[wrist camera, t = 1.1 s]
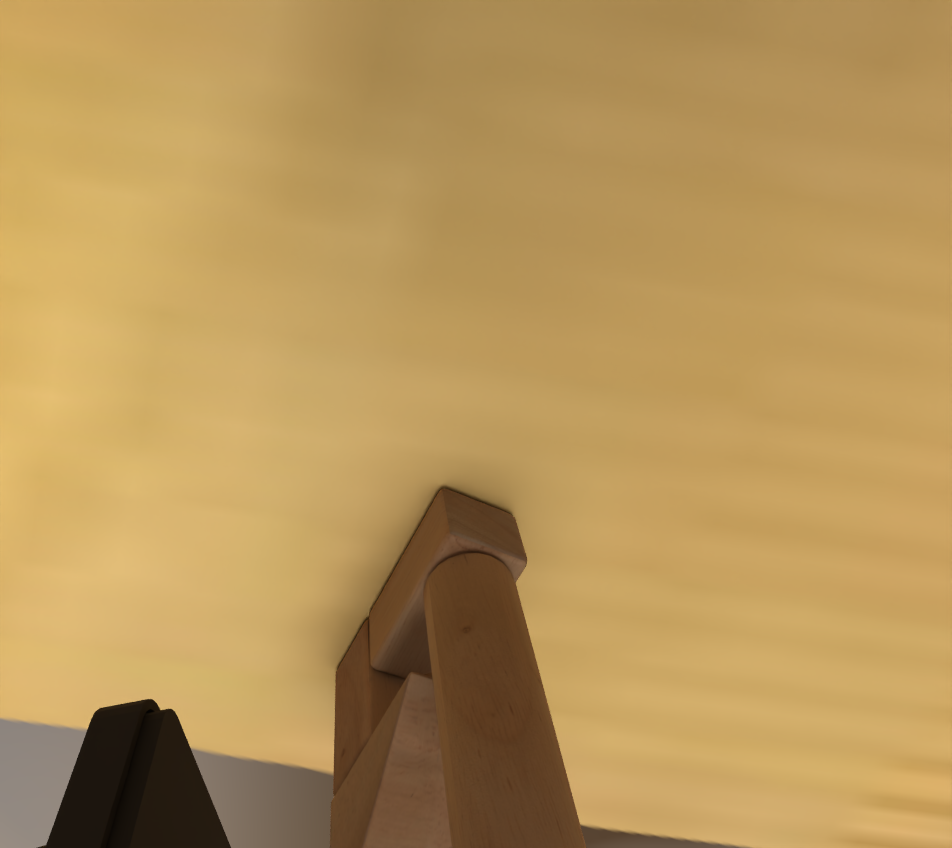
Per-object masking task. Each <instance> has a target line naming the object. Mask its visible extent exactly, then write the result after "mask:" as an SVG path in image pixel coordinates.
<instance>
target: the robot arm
mask: <svg viewBox="0 0 952 848" xmlns="http://www.w3.org/2000/svg"><path fill="white" fill-rule="evenodd" d="M38 848H231V847H230V844H229V842H228V840H227V837H226V834H225V832H224V830H223V827H222V824H221V822H220V819H219V817H218V815H217V812H216V810H215V807H214V805H213V803H212V800H211V797H210V795H209V793H208V790H207V788H206V785H205V783H204V781H203V778H202V775H201V773H200V770H199V768H198V766H197V763H196V761H195V758H194V756H193V753H192V751H191V748H190V746H189V744H188V741H187V739H186V736H185V734H184V731H183V729H182V726H181V724H180V721H179V719H178V717H177V715H176V713H175V711H173V710H172V709H166V710H160V708H159V707H158V705H157V703H156V702H155V701H154V700H152V699H146V700H141V701H136V702H130V703H125V704H120V705H114V706H109V707H104V708H99V709H98V710H97V711H96V712H95V713H94V715H93V717H92V719H91V722H90V724H89V727H88V730H87V733H86V736H85V738H84V741H83V744H82V747H81V750H80V753H79V755H78V758H77V761H76V764H75V766H74V769H73V772H72V775H71V778H70V780H69V783H68V786H67V789H66V791H65V794H64V797H63V800H62V803H61V805H60V808H59V811H58V814H57V817H56V819H55V822H54V825H53V828H52V831H51V833H50V836H49V839H48V842H47V845H45V846H41V847H38Z"/></svg>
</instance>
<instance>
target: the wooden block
mask: <svg viewBox="0 0 952 848" xmlns="http://www.w3.org/2000/svg"><path fill="white" fill-rule="evenodd" d="M526 564H527V557H526V553H525V550H524V547H523V543H522V540H521V537H520V533H519V530H518V527H517V523H516V520H515V518H514V517H513V516H512V515H511V514H509V513H507V512H504V511H502V510H499V509H497V508H494V507H492V506H489V505H486V504H484V503H481V502H479V501H476V500H474V499H471V498H469V497H466V496H463V495H461V494H458V493H456V492H453V491H451V490H448V489H441V490H440V491H439V492H438V494H437V496H436V498H435V499H434V501H433V503H432V505H431V506H430V508H429V510H428V512H427V513H426V515H425V517H424V519H423V520H422V522H421V524H420V526H419V527H418V529H417V531H416V533H415V534H414V536H413V538H412V540H411V541H410V543H409V545H408V547H407V548H406V550H405V552H404V554H403V556H402V557H401V559H400V561H399V563H398V564H397V566H396V568H395V570H394V571H393V573H392V575H391V577H390V578H389V580H388V582H387V584H386V585H385V587H384V589H383V591H382V592H381V594H380V596H379V598H378V599H377V601H376V603H375V605H374V607H373V608H372V610H371V612H370V615H369V619H368V620H366V621H365V622H364V624H363V626H362V627H361V629H360V631H359V633H358V634H357V636H356V638H355V640H354V641H353V643H352V645H351V647H350V648H349V650H348V652H347V654H346V655H345V657H344V659H343V661H342V662H341V664H340V666H339V668H338V669H337V671H336V691H335V739H334V789H333V790H334V791H333V794H334V796H335V797H334V798H333V800H332V802H331V829H330V848H586V845H585V842H584V838H583V834H582V830H581V827H580V823H579V819H578V815H577V812H576V808H575V804H574V800H573V797H572V793H571V789H570V785H569V782H568V778H567V774H566V770H565V767H564V763H563V759H562V755H561V752H560V748H559V744H558V741H557V737H556V733H555V729H554V726H553V722H552V718H551V714H550V711H549V707H548V703H547V699H546V696H545V692H544V688H543V684H542V681H541V677H540V673H539V669H538V666H537V662H536V658H535V654H534V651H533V647H532V643H531V640H530V636H529V632H528V628H527V625H526V621H525V617H524V613H523V610H522V606H521V602H520V598H519V595H518V591H517V587H516V584H515V583H516V581H517V579H518V578H519V576H520V575H521V573H522V572H523V570H524V568H525V567H526Z"/></svg>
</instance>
